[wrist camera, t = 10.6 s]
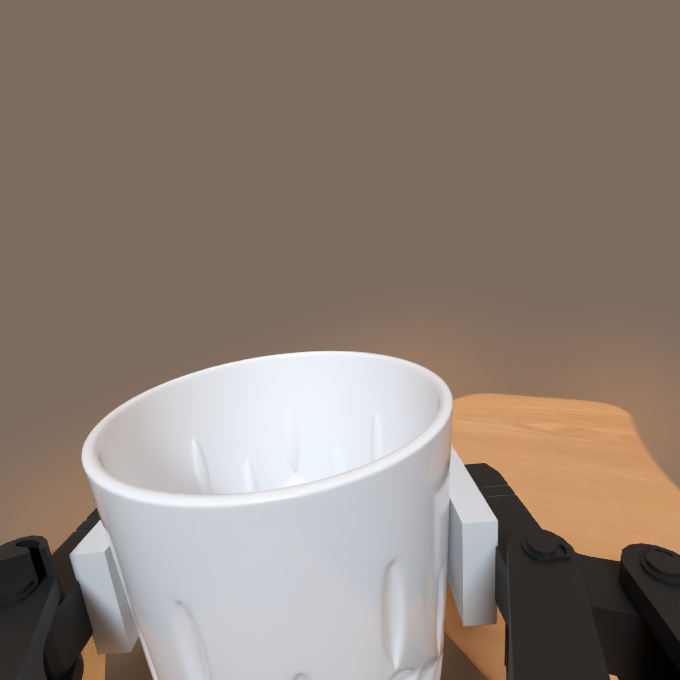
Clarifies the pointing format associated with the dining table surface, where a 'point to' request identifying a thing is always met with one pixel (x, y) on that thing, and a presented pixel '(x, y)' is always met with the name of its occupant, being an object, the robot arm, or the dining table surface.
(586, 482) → the dining table surface
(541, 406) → the dining table surface
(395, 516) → the white cup
